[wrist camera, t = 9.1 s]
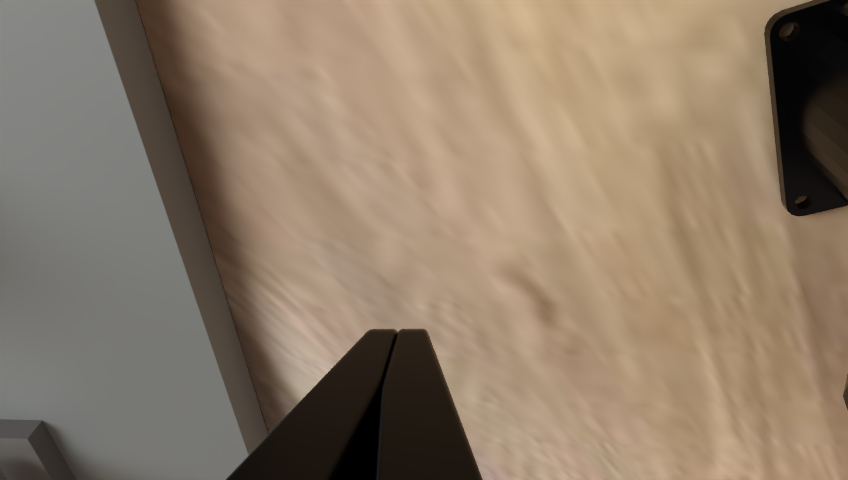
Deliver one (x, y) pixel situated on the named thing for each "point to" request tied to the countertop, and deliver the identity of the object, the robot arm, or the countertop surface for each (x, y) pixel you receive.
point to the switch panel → (106, 265)
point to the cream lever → (2, 475)
